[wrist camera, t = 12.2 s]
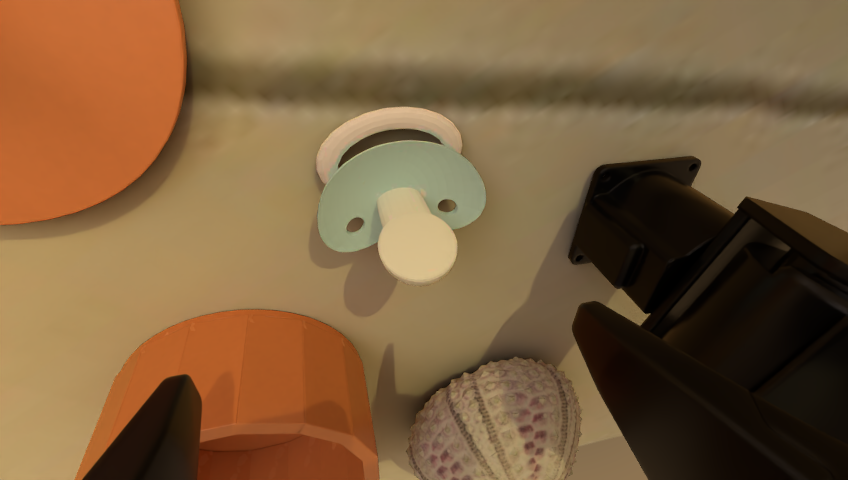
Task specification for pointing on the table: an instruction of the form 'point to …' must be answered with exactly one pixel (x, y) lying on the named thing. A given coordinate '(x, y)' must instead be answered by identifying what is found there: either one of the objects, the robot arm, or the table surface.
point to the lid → (84, 99)
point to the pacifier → (399, 193)
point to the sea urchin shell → (499, 425)
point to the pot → (256, 397)
